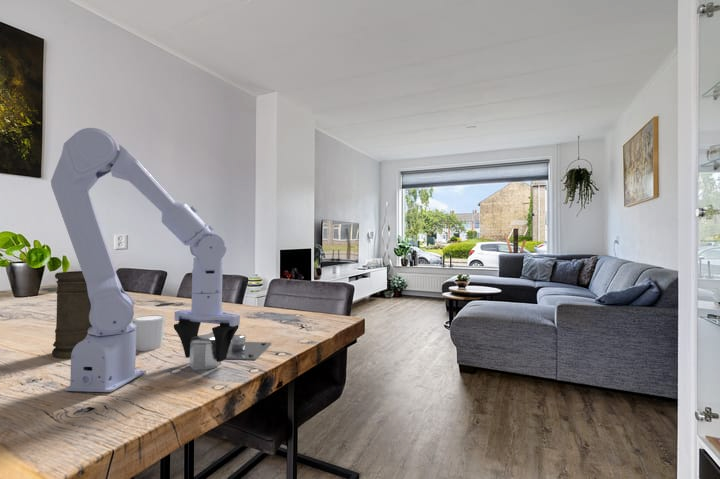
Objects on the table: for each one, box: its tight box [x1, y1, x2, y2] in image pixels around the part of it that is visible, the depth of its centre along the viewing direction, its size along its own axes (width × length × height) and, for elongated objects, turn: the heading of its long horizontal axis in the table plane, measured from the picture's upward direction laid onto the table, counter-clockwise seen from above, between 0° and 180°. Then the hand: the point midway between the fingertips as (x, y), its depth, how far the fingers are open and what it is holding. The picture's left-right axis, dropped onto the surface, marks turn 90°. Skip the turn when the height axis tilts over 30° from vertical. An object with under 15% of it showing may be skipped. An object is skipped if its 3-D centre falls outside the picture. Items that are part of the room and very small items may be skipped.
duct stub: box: [225, 333, 272, 361], centre depth 83 cm, size 12×12×3 cm
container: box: [51, 270, 92, 359], centre depth 80 cm, size 9×9×18 cm
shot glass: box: [131, 314, 166, 352], centre depth 84 cm, size 7×7×7 cm
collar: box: [189, 333, 222, 371], centre depth 73 cm, size 6×6×6 cm
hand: (205, 358), depth 73 cm, fingers open, 7 cm apart
